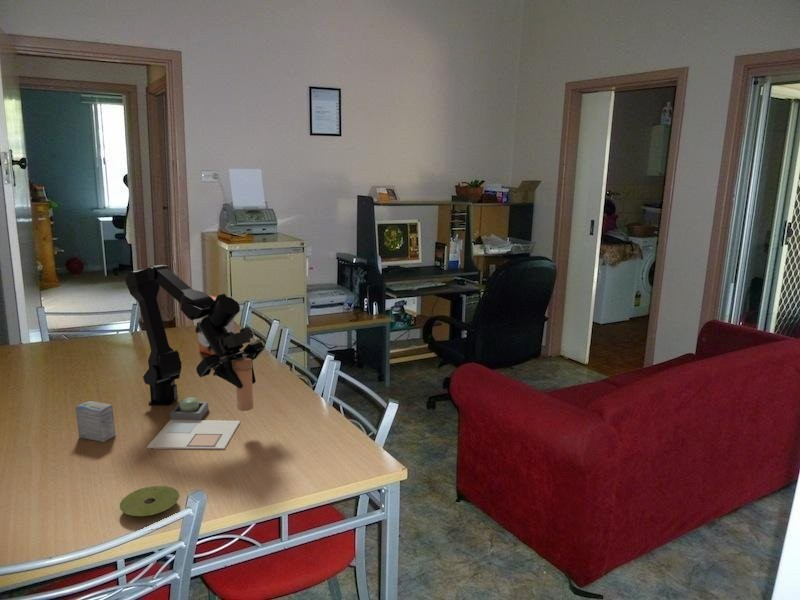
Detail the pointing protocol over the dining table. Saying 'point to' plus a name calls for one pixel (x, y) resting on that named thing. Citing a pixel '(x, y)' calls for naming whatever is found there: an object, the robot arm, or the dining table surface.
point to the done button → (189, 405)
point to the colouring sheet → (195, 434)
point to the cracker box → (202, 340)
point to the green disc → (149, 500)
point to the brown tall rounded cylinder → (244, 384)
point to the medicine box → (95, 421)
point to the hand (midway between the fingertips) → (248, 385)
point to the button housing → (189, 413)
